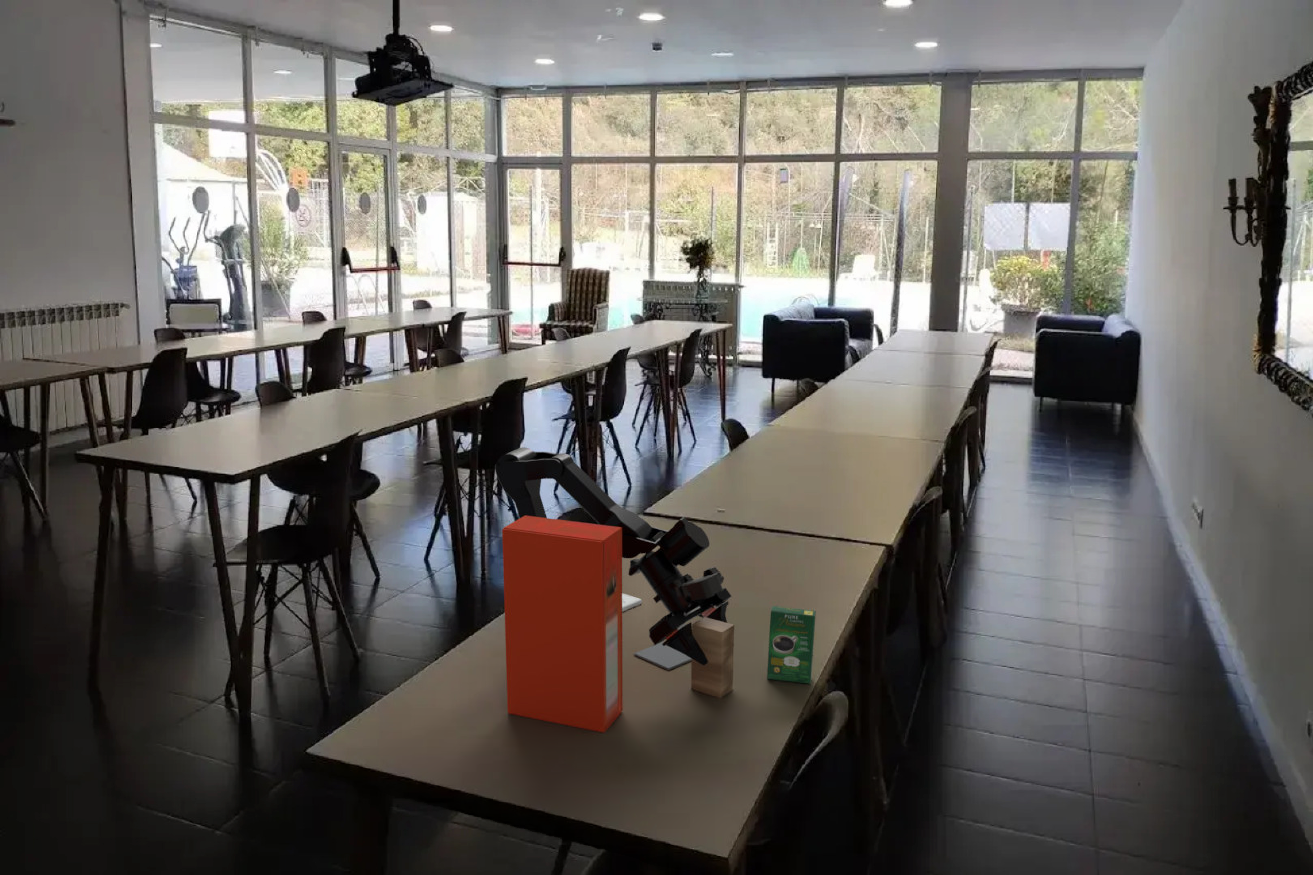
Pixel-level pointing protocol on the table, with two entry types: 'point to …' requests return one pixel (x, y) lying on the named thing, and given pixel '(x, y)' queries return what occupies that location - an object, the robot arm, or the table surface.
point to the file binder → (563, 621)
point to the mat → (663, 656)
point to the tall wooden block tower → (713, 657)
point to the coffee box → (791, 644)
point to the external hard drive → (629, 602)
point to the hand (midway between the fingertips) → (719, 655)
